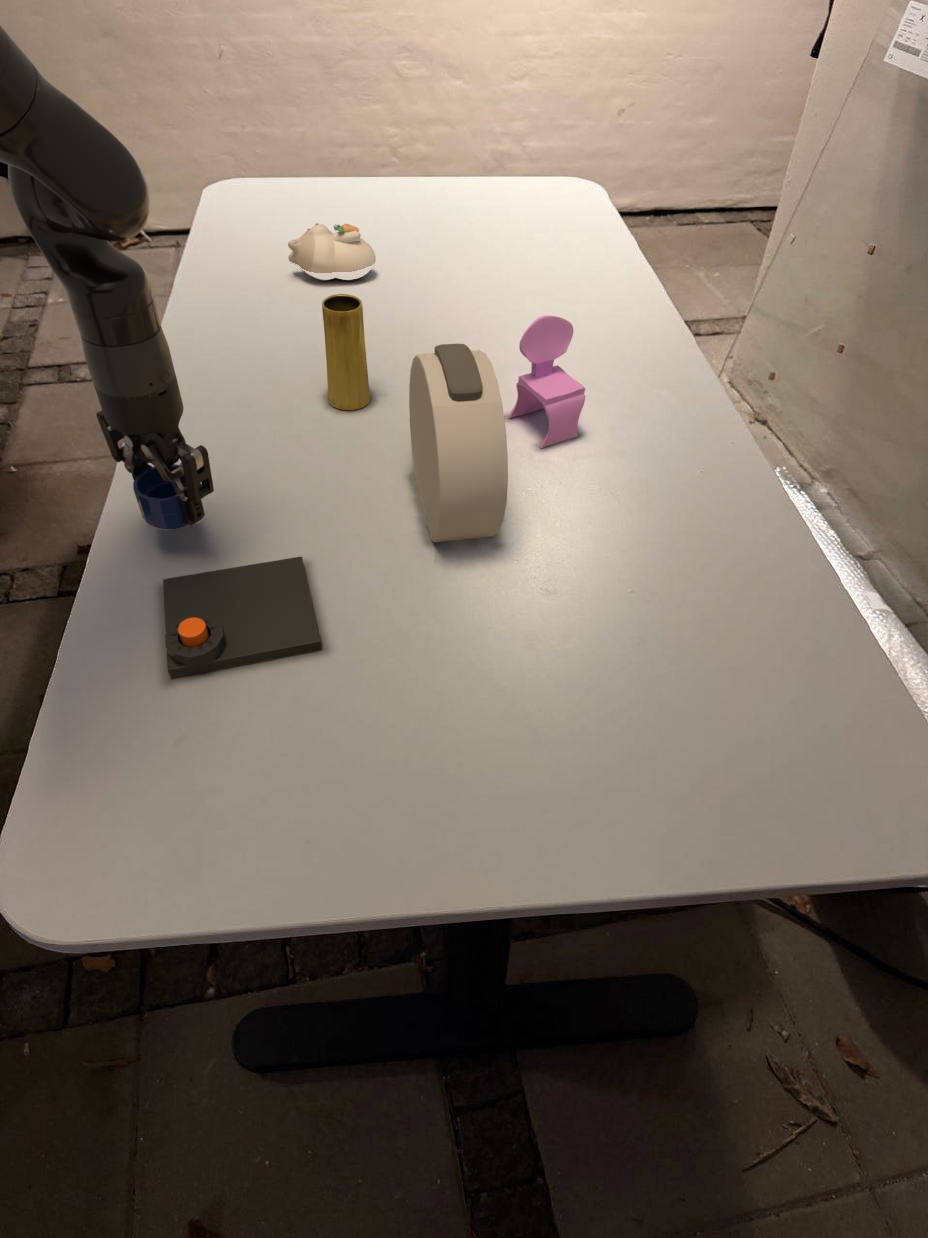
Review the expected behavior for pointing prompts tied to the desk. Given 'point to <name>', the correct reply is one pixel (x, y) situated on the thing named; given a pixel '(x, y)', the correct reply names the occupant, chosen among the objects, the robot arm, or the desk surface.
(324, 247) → the cat figurine
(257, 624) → the scale
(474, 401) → the alarm clock
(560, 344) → the toy chair
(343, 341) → the vase
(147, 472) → the bowl
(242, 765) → the desk surface
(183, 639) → the button
